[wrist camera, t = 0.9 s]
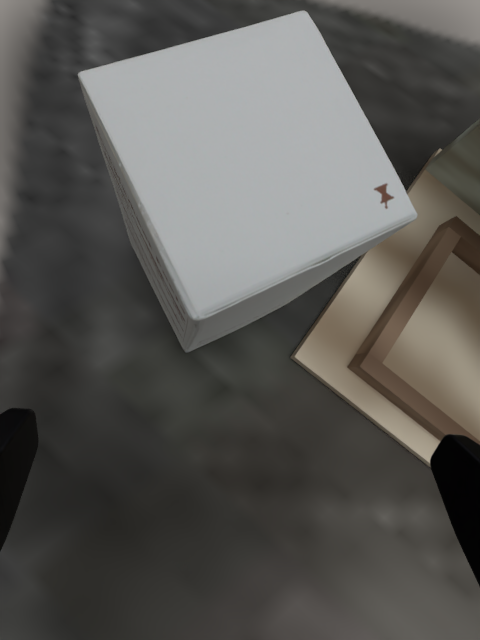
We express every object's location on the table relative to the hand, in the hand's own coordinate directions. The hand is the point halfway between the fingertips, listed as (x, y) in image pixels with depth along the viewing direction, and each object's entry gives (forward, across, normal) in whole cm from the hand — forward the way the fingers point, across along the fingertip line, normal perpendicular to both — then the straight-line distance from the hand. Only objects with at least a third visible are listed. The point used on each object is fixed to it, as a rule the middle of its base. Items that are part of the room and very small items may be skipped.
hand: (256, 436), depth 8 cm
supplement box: (+15, 0, +3) cm, 15 cm away
